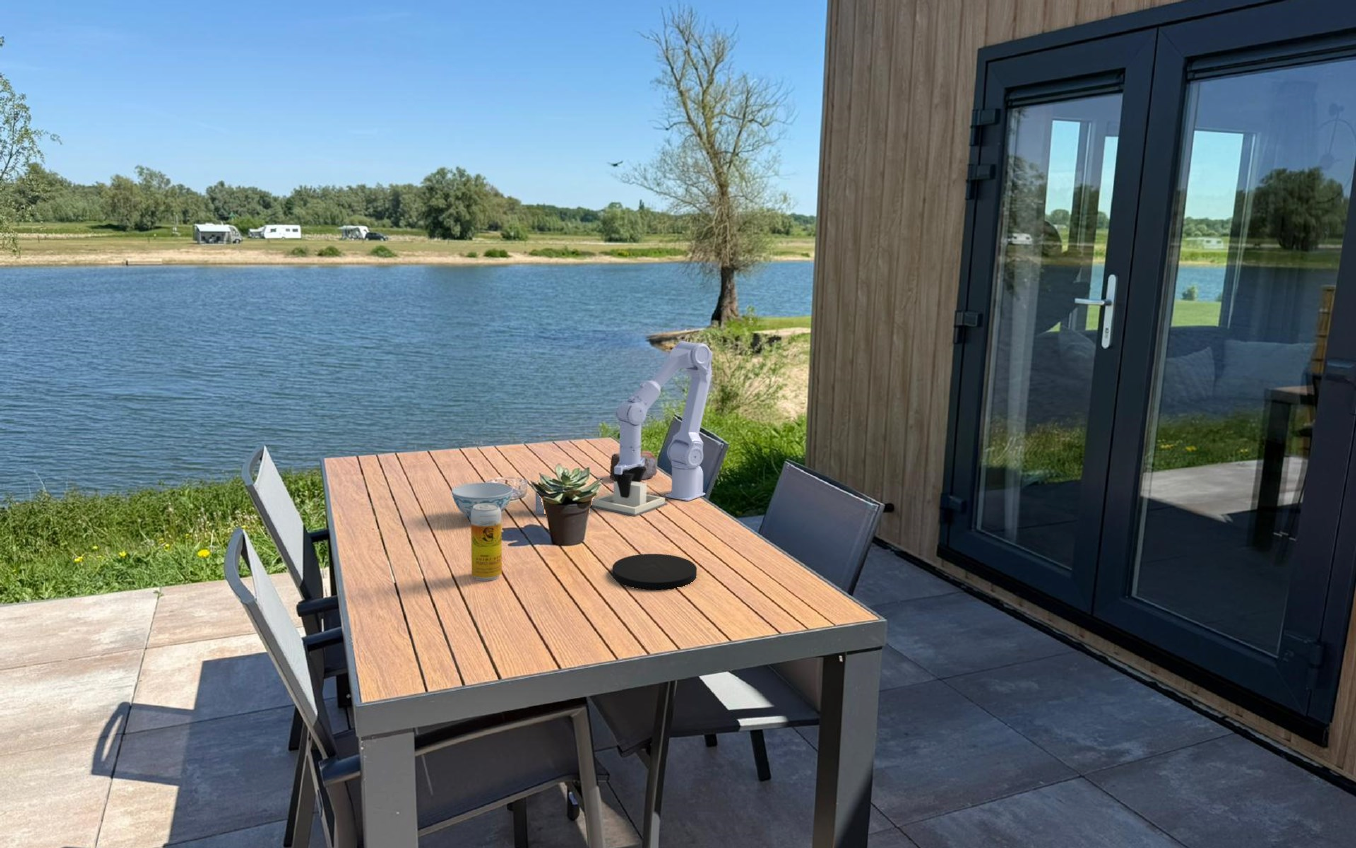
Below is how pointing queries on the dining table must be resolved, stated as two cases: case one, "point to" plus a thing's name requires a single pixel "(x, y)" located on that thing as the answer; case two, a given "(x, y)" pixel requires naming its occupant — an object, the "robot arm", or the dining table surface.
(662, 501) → the shallow square tray
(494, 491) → the chinaware
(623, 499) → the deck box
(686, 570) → the wireless charger
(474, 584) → the dining table surface
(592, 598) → the dining table surface
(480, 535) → the beer can
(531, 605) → the dining table surface
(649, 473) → the food item
